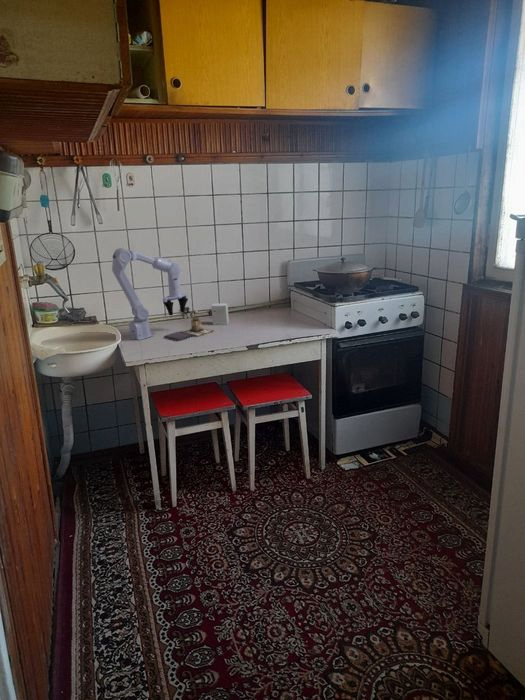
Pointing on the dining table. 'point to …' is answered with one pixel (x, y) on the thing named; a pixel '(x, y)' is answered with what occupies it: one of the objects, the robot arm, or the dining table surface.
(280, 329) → the dining table surface
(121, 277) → the robot arm
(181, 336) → the ink pad
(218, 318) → the small box
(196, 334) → the board
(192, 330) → the stamp
